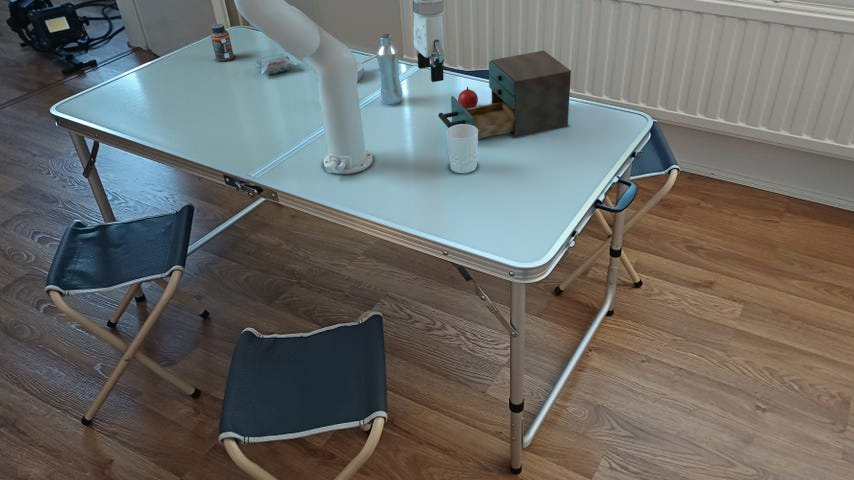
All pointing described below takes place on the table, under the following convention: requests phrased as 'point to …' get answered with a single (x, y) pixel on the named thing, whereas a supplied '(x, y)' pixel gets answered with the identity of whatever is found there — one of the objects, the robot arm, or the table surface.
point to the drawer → (481, 118)
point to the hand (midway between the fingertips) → (430, 74)
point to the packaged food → (274, 64)
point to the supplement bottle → (221, 43)
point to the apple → (468, 98)
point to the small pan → (360, 66)
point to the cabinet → (532, 91)
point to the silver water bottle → (389, 70)
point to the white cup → (462, 147)
